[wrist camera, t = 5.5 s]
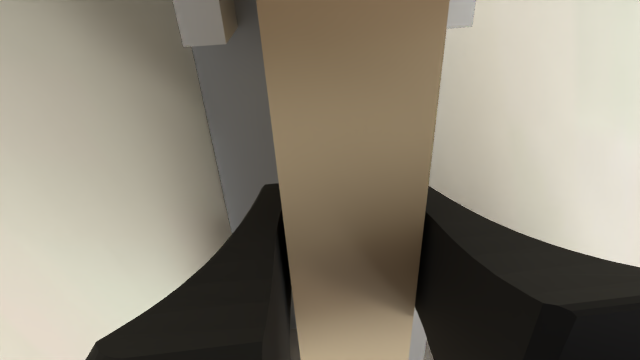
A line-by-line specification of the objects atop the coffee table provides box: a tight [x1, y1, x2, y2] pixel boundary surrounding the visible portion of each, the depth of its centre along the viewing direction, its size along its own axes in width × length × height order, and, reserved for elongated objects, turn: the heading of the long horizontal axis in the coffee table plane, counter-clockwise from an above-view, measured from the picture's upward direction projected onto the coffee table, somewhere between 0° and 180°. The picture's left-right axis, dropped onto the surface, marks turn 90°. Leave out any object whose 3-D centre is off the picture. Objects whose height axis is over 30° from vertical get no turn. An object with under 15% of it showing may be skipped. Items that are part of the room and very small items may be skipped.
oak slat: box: [256, 0, 450, 360], centre depth 11 cm, size 16×3×6 cm, turn 3°
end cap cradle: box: [173, 0, 476, 360], centre depth 13 cm, size 24×8×4 cm, turn 3°
